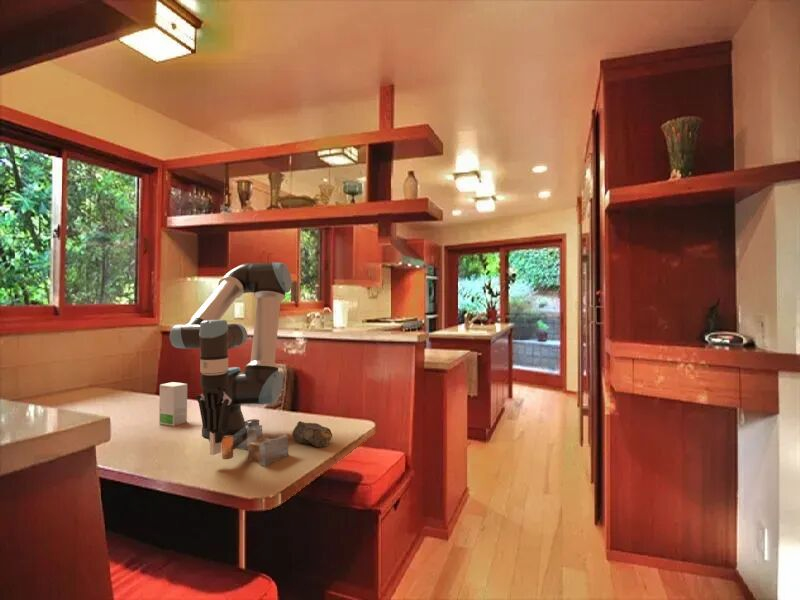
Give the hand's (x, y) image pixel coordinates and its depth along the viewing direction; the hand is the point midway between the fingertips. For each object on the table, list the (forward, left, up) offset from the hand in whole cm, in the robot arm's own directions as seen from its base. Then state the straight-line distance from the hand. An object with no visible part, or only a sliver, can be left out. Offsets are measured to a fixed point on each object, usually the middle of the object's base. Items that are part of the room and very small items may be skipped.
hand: (215, 453), depth 126 cm
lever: (+1, +10, -1) cm, 11 cm away
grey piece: (+3, +14, -4) cm, 15 cm away
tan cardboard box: (+7, +11, -4) cm, 14 cm away
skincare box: (-52, +24, -4) cm, 57 cm away
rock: (+13, +29, -4) cm, 32 cm away
